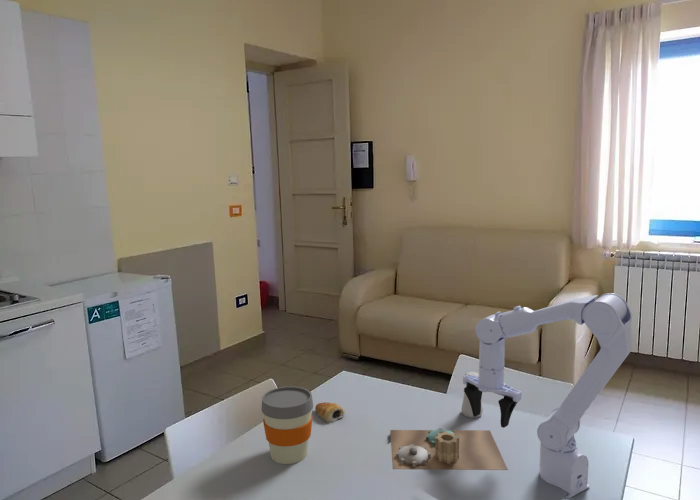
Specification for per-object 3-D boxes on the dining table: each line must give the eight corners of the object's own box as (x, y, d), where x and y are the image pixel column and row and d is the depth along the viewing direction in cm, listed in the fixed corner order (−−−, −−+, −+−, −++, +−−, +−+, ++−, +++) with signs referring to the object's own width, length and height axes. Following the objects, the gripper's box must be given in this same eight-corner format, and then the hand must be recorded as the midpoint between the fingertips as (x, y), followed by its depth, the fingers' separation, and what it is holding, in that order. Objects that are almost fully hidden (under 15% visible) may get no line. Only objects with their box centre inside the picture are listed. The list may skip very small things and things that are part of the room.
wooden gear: (463, 457, 121) (463, 437, 121) (449, 466, 118) (449, 446, 117) (444, 448, 125) (444, 429, 125) (430, 457, 122) (430, 437, 121)
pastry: (309, 413, 149) (309, 400, 148) (328, 406, 153) (328, 394, 152) (328, 424, 141) (328, 411, 141) (347, 417, 146) (347, 404, 145)
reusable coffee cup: (321, 444, 131) (319, 388, 129) (304, 471, 119) (302, 410, 117) (276, 438, 134) (273, 383, 132) (254, 464, 122) (251, 405, 120)
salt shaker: (480, 413, 146) (481, 369, 144) (484, 422, 140) (485, 377, 139) (460, 412, 147) (460, 369, 145) (462, 422, 141) (463, 377, 139)
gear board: (489, 434, 134) (490, 417, 133) (507, 474, 116) (508, 455, 116) (390, 434, 135) (390, 417, 135) (393, 473, 117) (392, 454, 117)
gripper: (455, 362, 123) (455, 415, 125) (510, 379, 112) (508, 437, 114) (472, 355, 128) (471, 406, 130) (526, 370, 117) (524, 426, 119)
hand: (490, 420), depth 122 cm, fingers open, 7 cm apart
